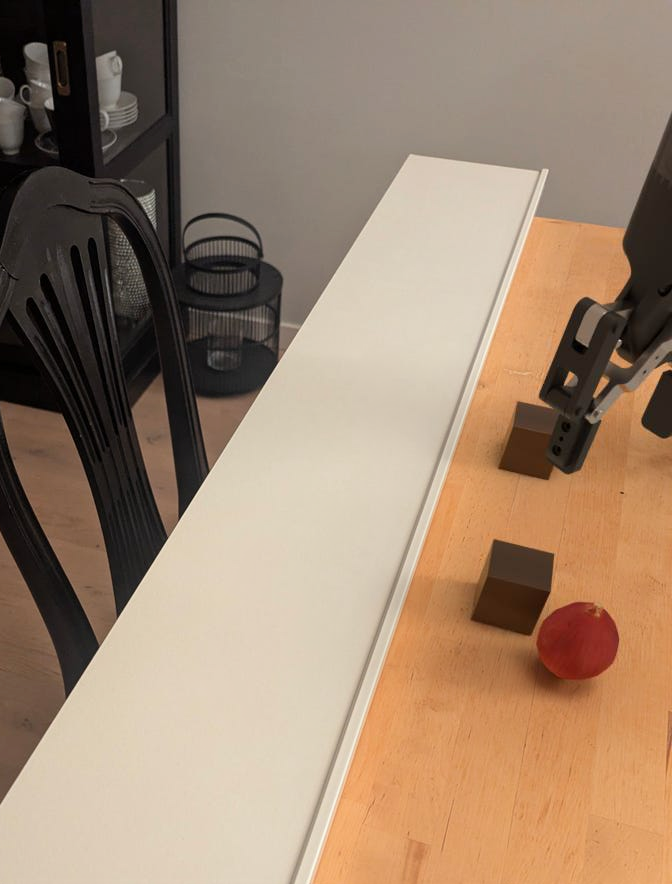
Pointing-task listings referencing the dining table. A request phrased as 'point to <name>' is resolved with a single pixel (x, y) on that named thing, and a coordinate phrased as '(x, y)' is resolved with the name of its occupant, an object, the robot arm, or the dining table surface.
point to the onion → (578, 641)
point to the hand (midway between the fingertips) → (610, 448)
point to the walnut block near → (513, 587)
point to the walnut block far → (528, 440)
